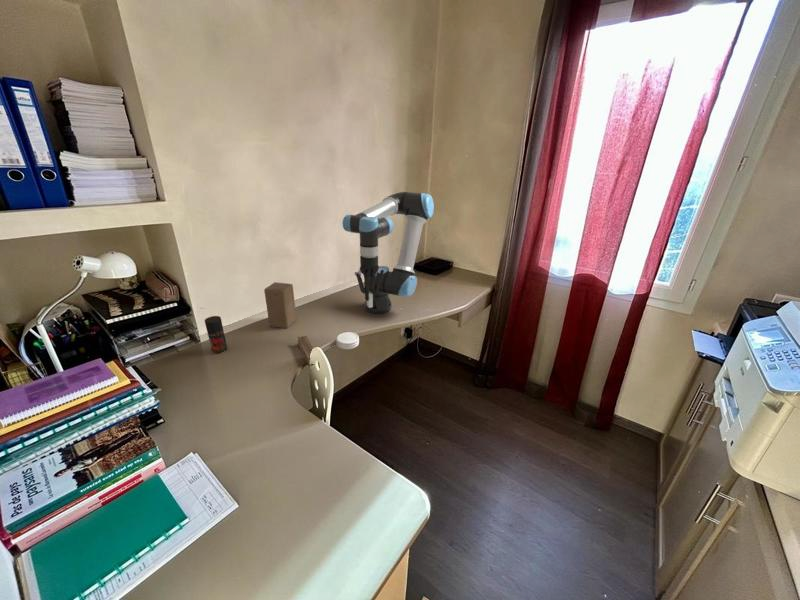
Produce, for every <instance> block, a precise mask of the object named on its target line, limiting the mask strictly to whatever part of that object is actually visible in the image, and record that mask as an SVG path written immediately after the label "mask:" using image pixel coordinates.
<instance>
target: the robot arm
mask: <svg viewBox="0 0 800 600" xmlns="http://www.w3.org/2000/svg"><path fill="white" fill-rule="evenodd" d="M434 207H435V204H434V199H433V197H432V195H431V194H429V193H424V192H411V191H400V192H395V193H393V194H390V195H388V196H387V197H384V198H383V199H382V201H381V202H378V203H377V204H375V205H372V206H371V207H369V208H367V209H365V210H363V211H361V212H359V213H357V214H354V215H353V214H346V215H344V217H343V219H342V228H343V230H344V231H345V232H348V233H353V234H359V255H360V256H359V260H360V261H359V262H360V263H359V264H360V267H359V270H358V271H355V272H353V273H354V275H355V277H356V279H357V282H358V287H359V290H360V292H361V293H362V294H363V295H364V304H363V307H364V310H365V311H366V312H368V313H372V314H384V313H388V312H390V311H391V310H392V301H391V299H390V296H389V295H394V296H398V297H401V298H409V297H411V296H412V295H413V294H414V293H415V290H416V288H417V284H418V278H417V276H415V275H416V272H415V271H414V266H415V262H416V257H417V253H418V250H419V249H418V248H419V243H420V240H421V235H422V232H423V227H424V224H426V223H427V222H428V219H430V218H432V217H433V215H434V210H435V208H434ZM395 215H403V216H404V215H405V216H404V218H405V219H406V225H405V229H404V232H403V237H402V242H401V245H400V250H399V254H398V259H397V263H396V266H394V267H393V268H392V271H390V269H389V267H388V266H387V265H386V266H385V265H379V239H381V238H382V237H386V236H389V234H392V232H393V230H394V223H393V221H392V220H391V219H390V218H389V217H388V216H395ZM362 275H363V279H362ZM363 280H364V281H363Z"/></svg>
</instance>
